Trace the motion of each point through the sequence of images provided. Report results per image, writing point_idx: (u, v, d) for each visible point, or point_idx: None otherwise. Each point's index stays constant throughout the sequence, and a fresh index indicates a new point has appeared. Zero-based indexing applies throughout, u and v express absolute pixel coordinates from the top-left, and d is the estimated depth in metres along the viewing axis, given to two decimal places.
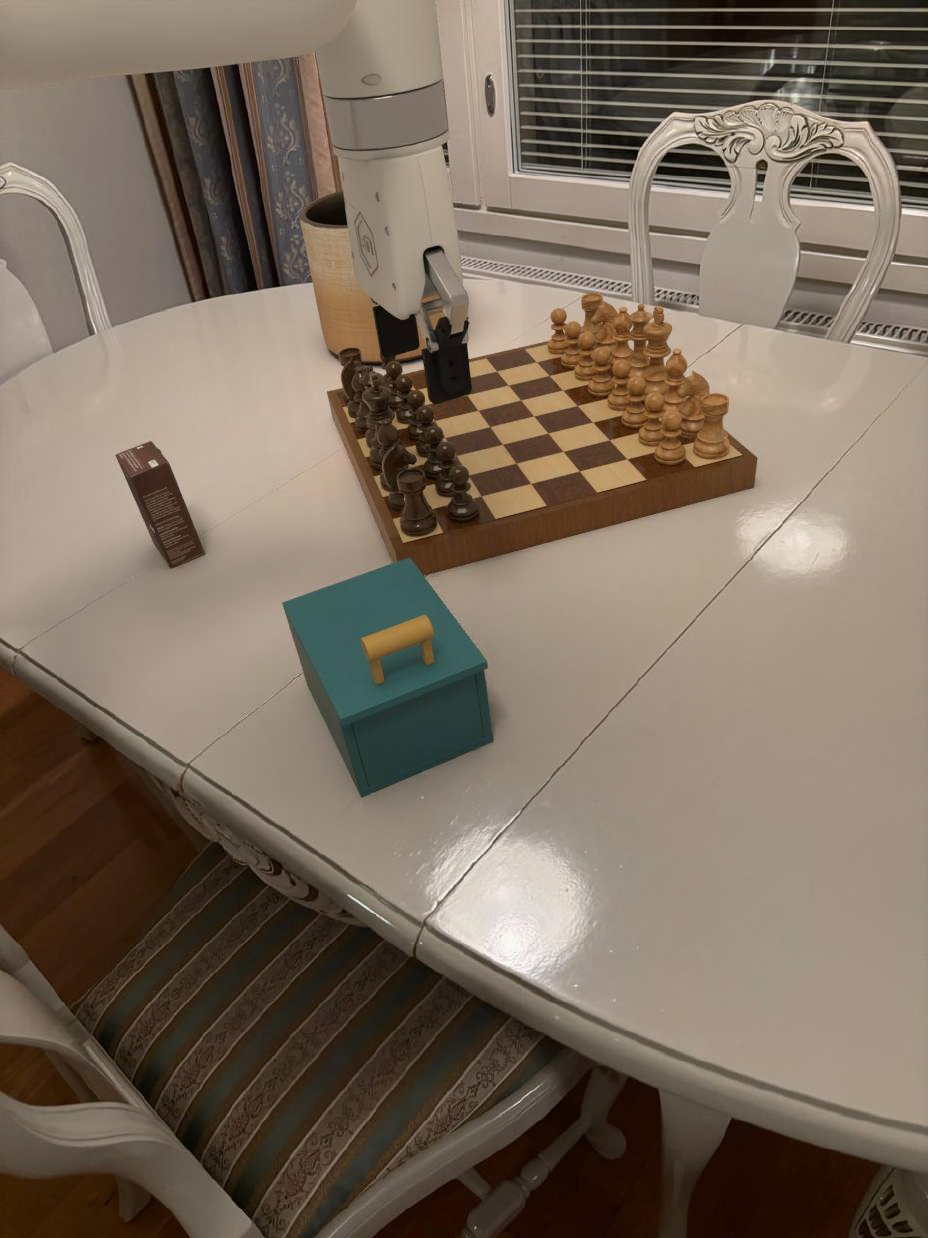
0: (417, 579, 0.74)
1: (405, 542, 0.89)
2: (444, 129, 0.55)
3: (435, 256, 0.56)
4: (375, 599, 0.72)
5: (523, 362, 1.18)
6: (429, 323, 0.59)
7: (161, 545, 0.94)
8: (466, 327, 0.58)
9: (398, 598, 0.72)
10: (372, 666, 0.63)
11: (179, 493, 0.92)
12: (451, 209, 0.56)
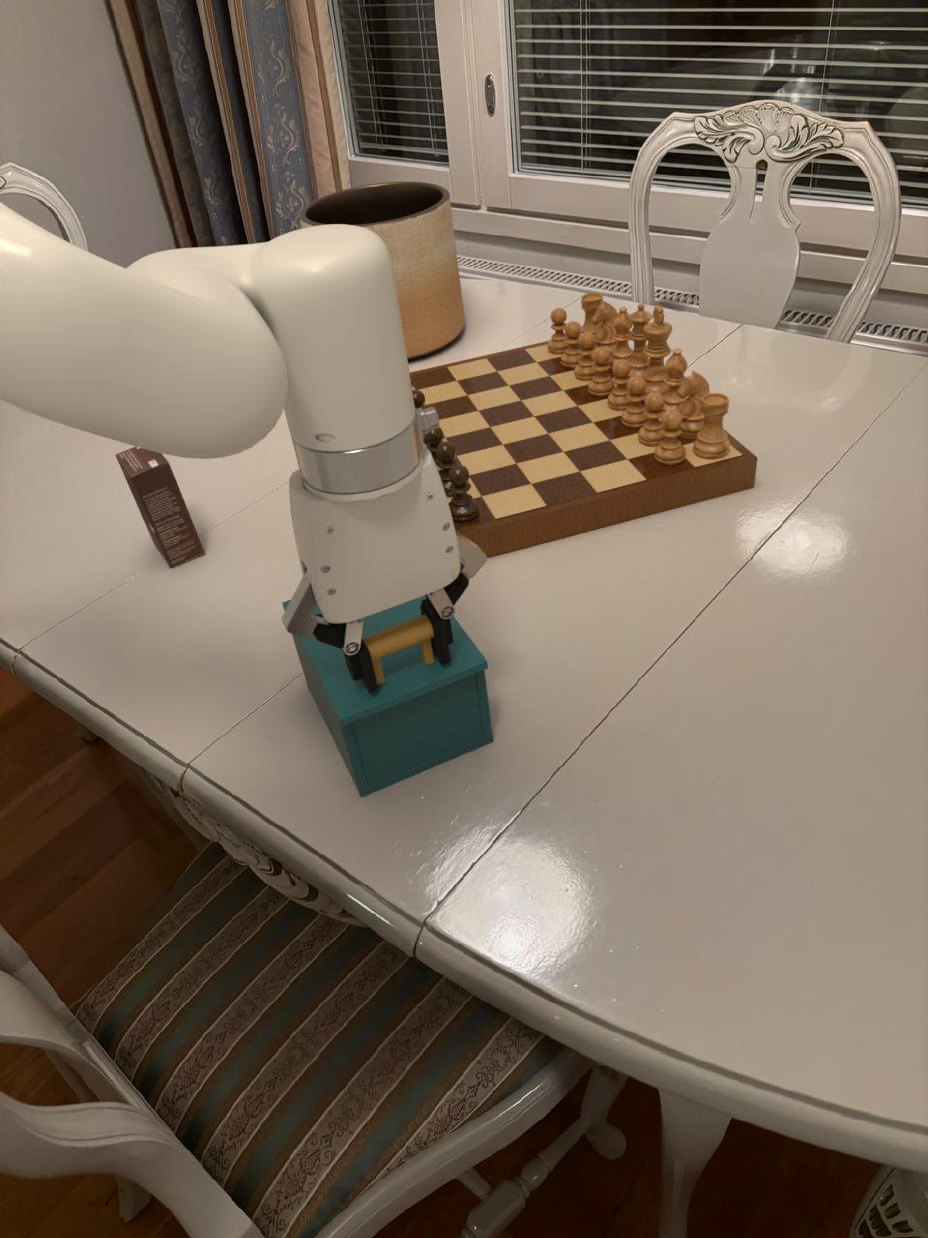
0: None
1: None
2: (333, 491, 0.51)
3: (306, 578, 0.57)
4: None
5: (523, 362, 1.18)
6: None
7: (161, 545, 0.94)
8: None
9: None
10: None
11: (179, 493, 0.92)
12: (311, 551, 0.54)
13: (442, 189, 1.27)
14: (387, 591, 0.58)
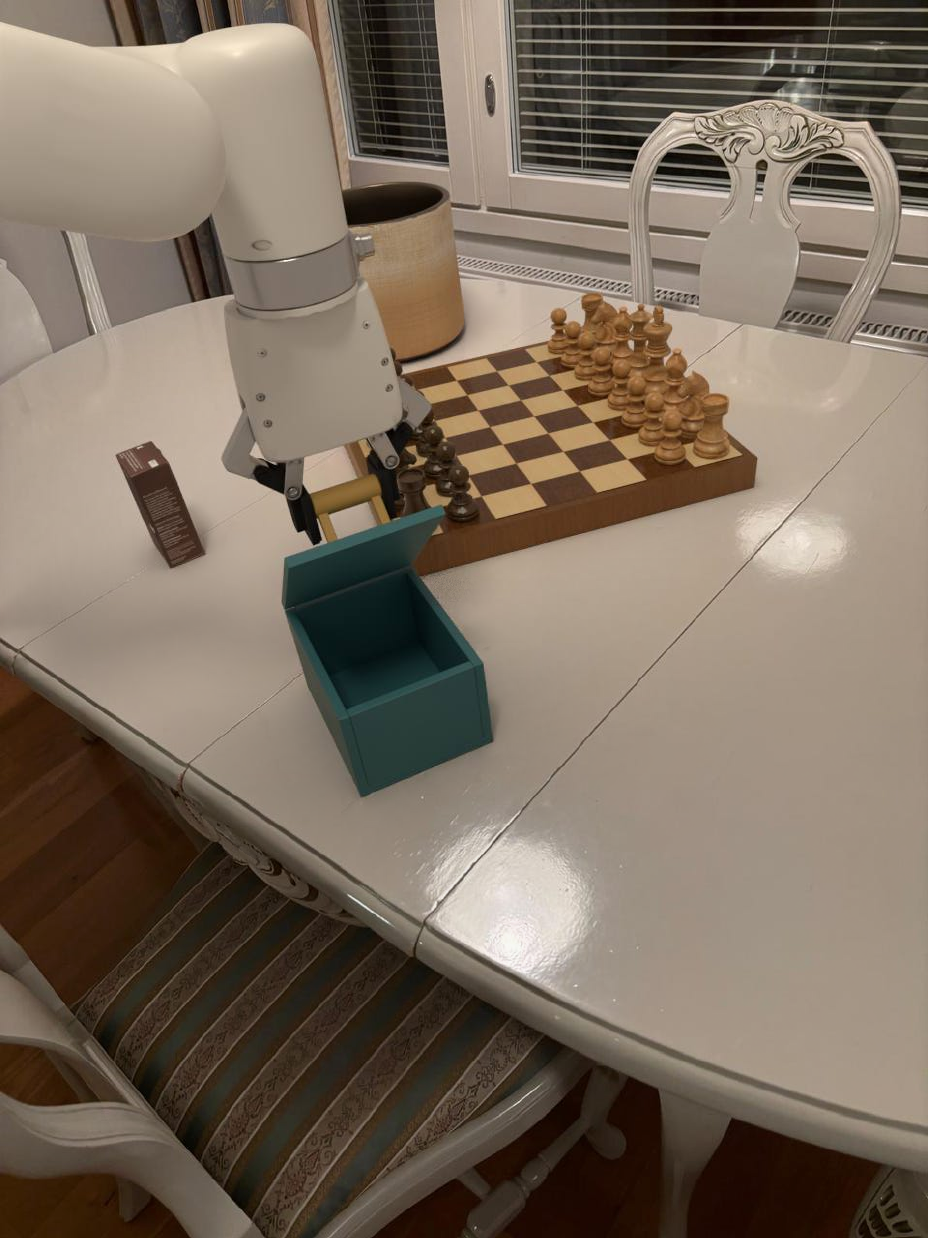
0: None
1: None
2: (264, 307, 0.51)
3: (244, 413, 0.57)
4: None
5: (523, 362, 1.18)
6: (276, 462, 0.61)
7: (161, 545, 0.94)
8: (256, 480, 0.59)
9: None
10: (321, 522, 0.62)
11: (179, 493, 0.92)
12: (245, 377, 0.54)
13: (442, 189, 1.27)
14: (326, 428, 0.57)
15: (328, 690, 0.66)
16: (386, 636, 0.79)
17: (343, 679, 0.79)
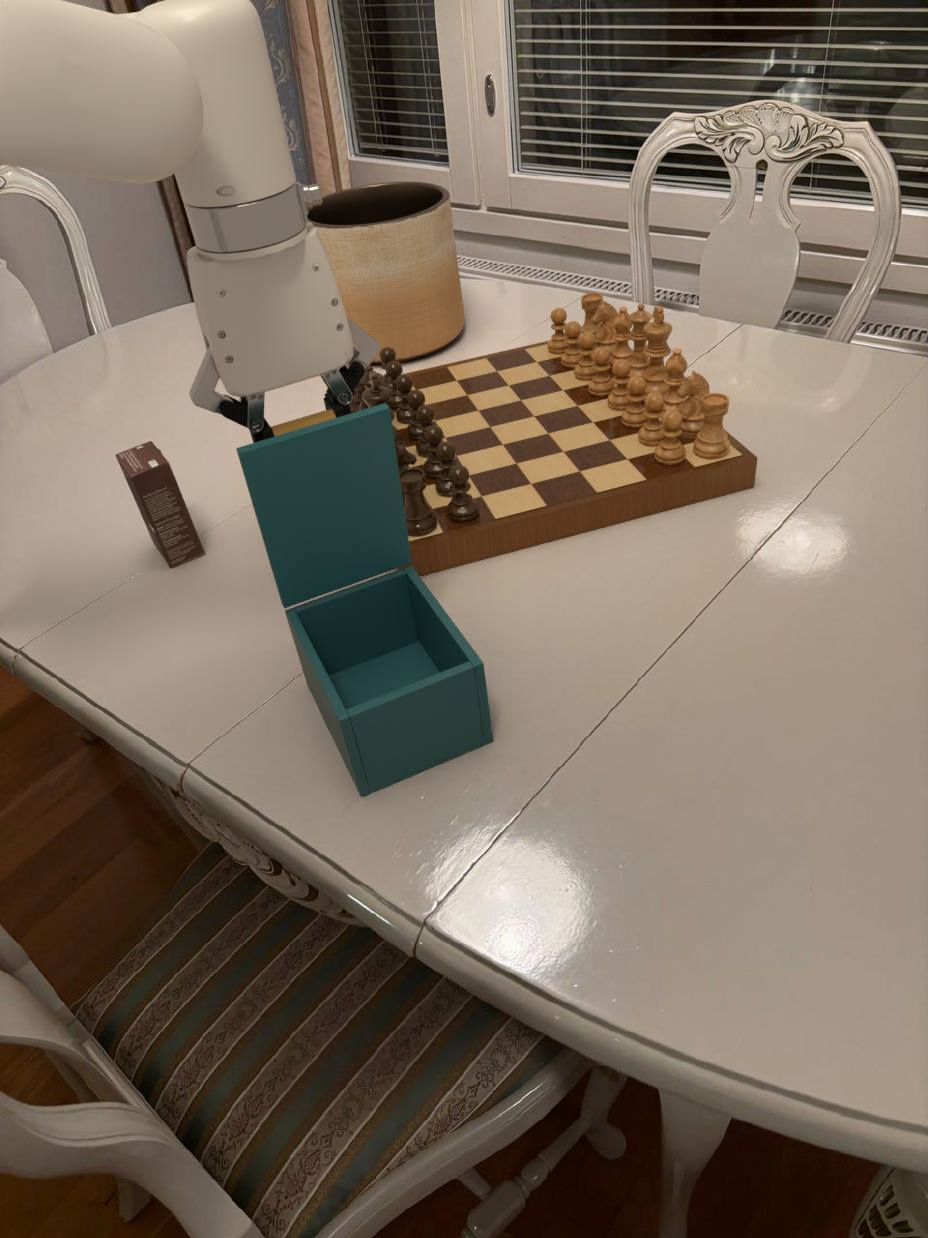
0: None
1: None
2: (221, 250, 0.57)
3: (209, 351, 0.63)
4: None
5: (523, 362, 1.18)
6: (240, 399, 0.67)
7: (161, 545, 0.94)
8: (222, 414, 0.65)
9: None
10: None
11: (179, 493, 0.92)
12: (207, 316, 0.60)
13: (442, 189, 1.27)
14: (283, 364, 0.63)
15: (328, 690, 0.66)
16: (386, 636, 0.79)
17: (343, 679, 0.79)
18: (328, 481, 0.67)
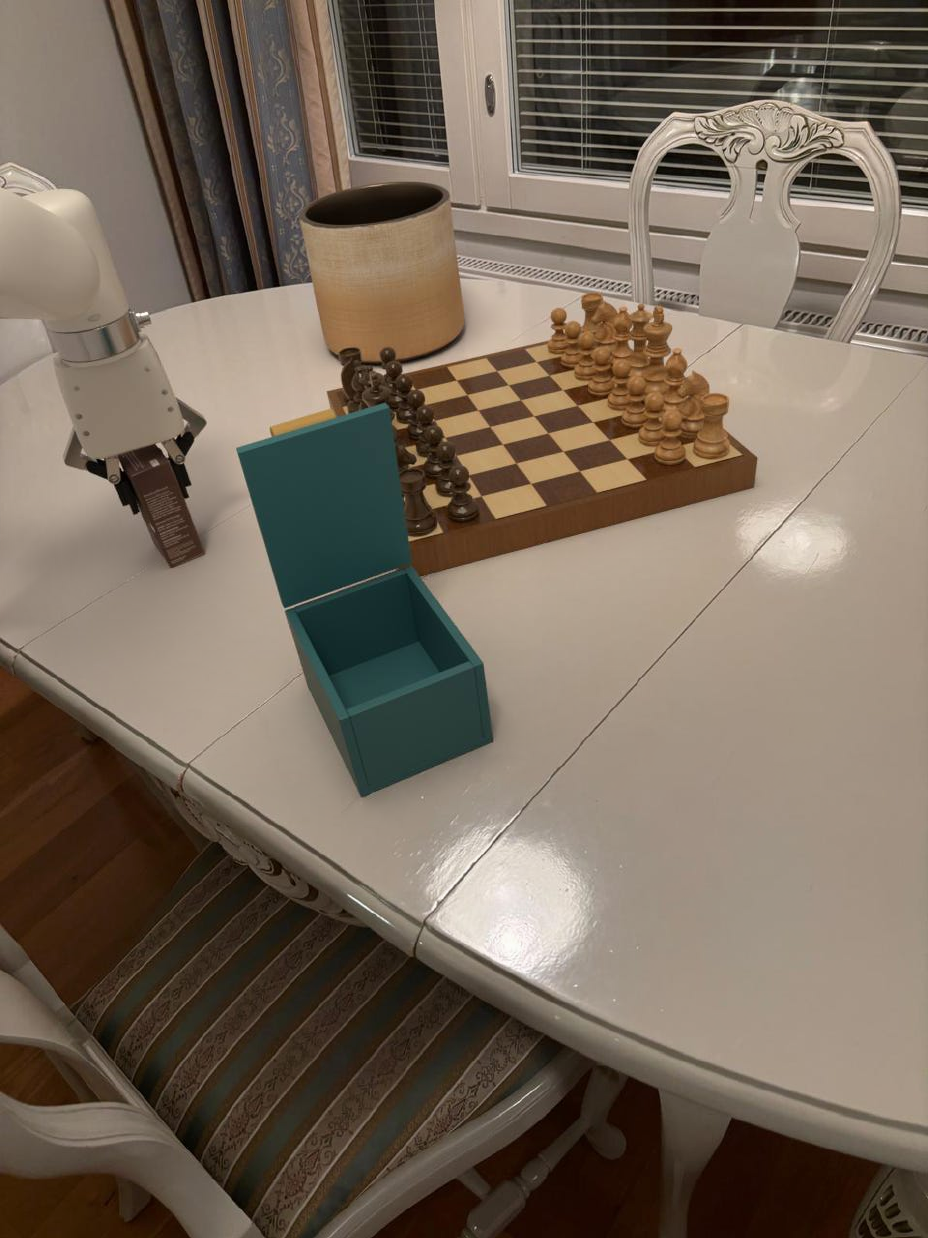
0: None
1: None
2: (73, 360, 0.81)
3: (74, 427, 0.87)
4: None
5: (523, 362, 1.18)
6: None
7: (161, 544, 0.94)
8: (88, 470, 0.89)
9: None
10: None
11: (180, 493, 0.92)
12: (67, 403, 0.83)
13: (442, 189, 1.27)
14: (128, 436, 0.87)
15: (328, 690, 0.66)
16: (386, 636, 0.79)
17: (343, 679, 0.79)
18: (328, 481, 0.67)
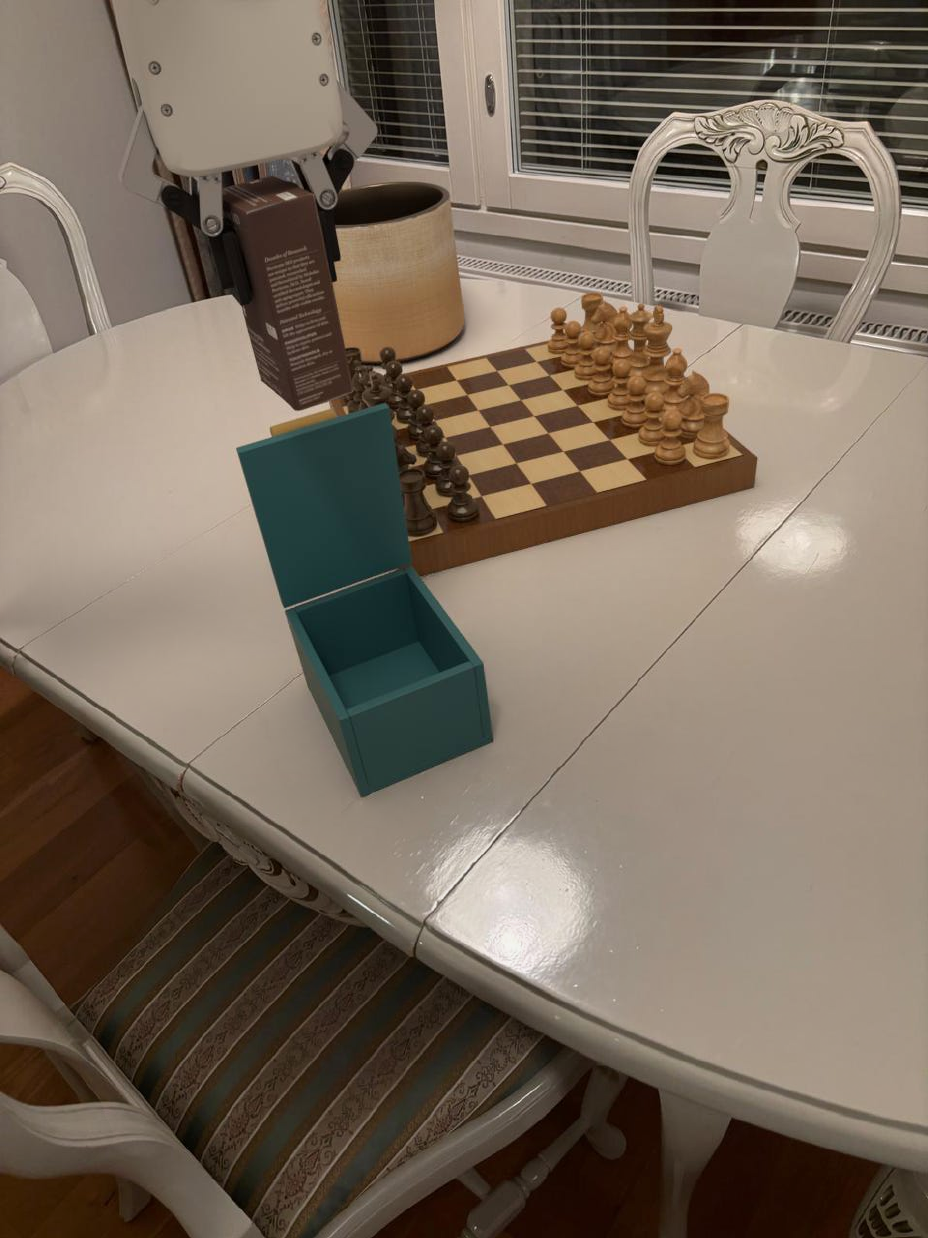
0: None
1: None
2: None
3: (141, 108, 0.45)
4: None
5: (523, 362, 1.18)
6: (190, 193, 0.49)
7: (285, 365, 0.53)
8: (165, 205, 0.47)
9: None
10: None
11: (326, 264, 0.51)
12: (134, 37, 0.42)
13: (442, 189, 1.27)
14: (244, 128, 0.45)
15: (328, 690, 0.66)
16: (386, 636, 0.79)
17: (343, 679, 0.79)
18: (328, 481, 0.67)
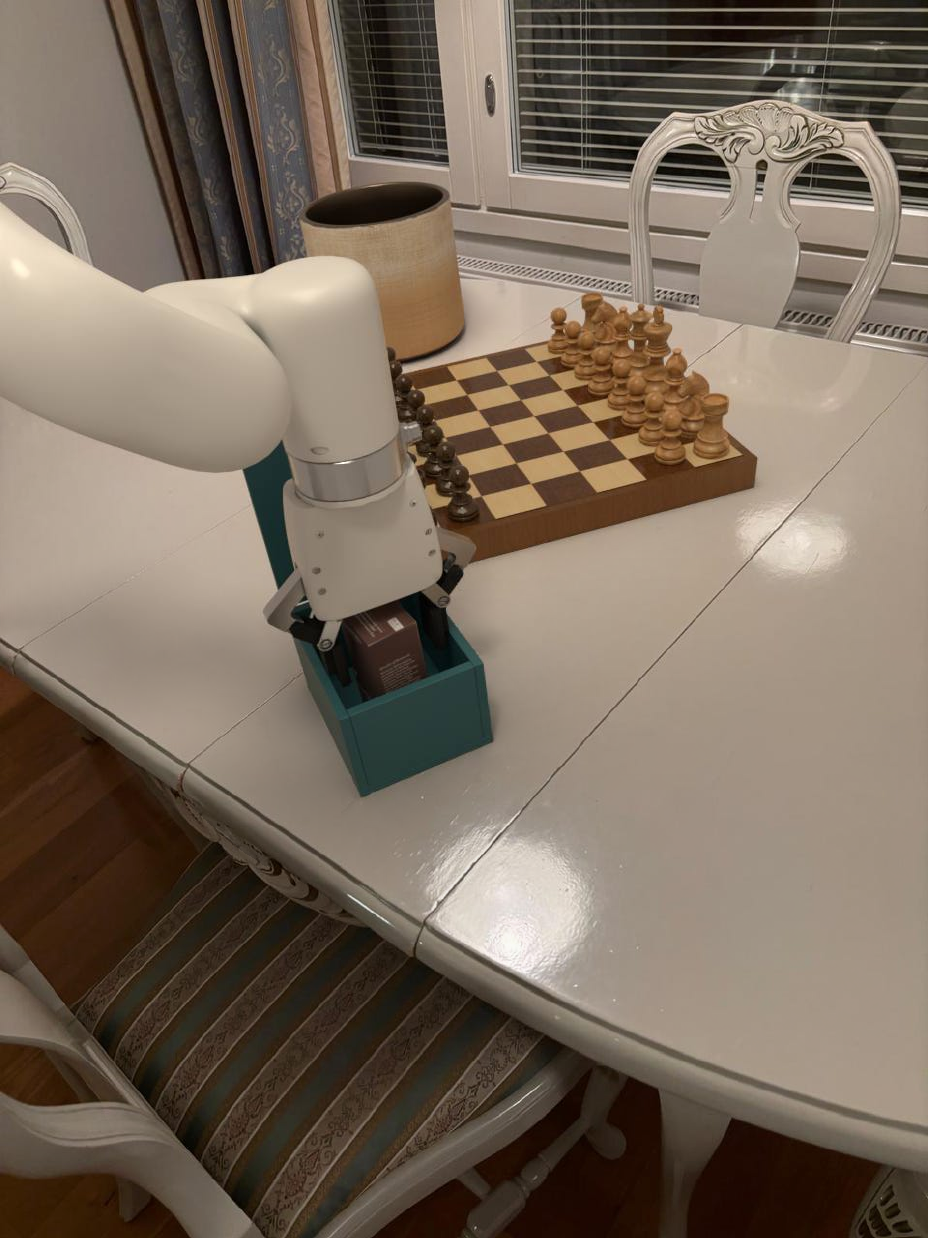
0: None
1: None
2: (323, 499, 0.56)
3: (295, 575, 0.61)
4: None
5: (523, 362, 1.18)
6: (313, 613, 0.65)
7: None
8: (292, 635, 0.63)
9: None
10: None
11: (422, 659, 0.67)
12: (303, 554, 0.59)
13: (442, 189, 1.27)
14: (374, 591, 0.62)
15: (328, 690, 0.66)
16: None
17: None
18: None
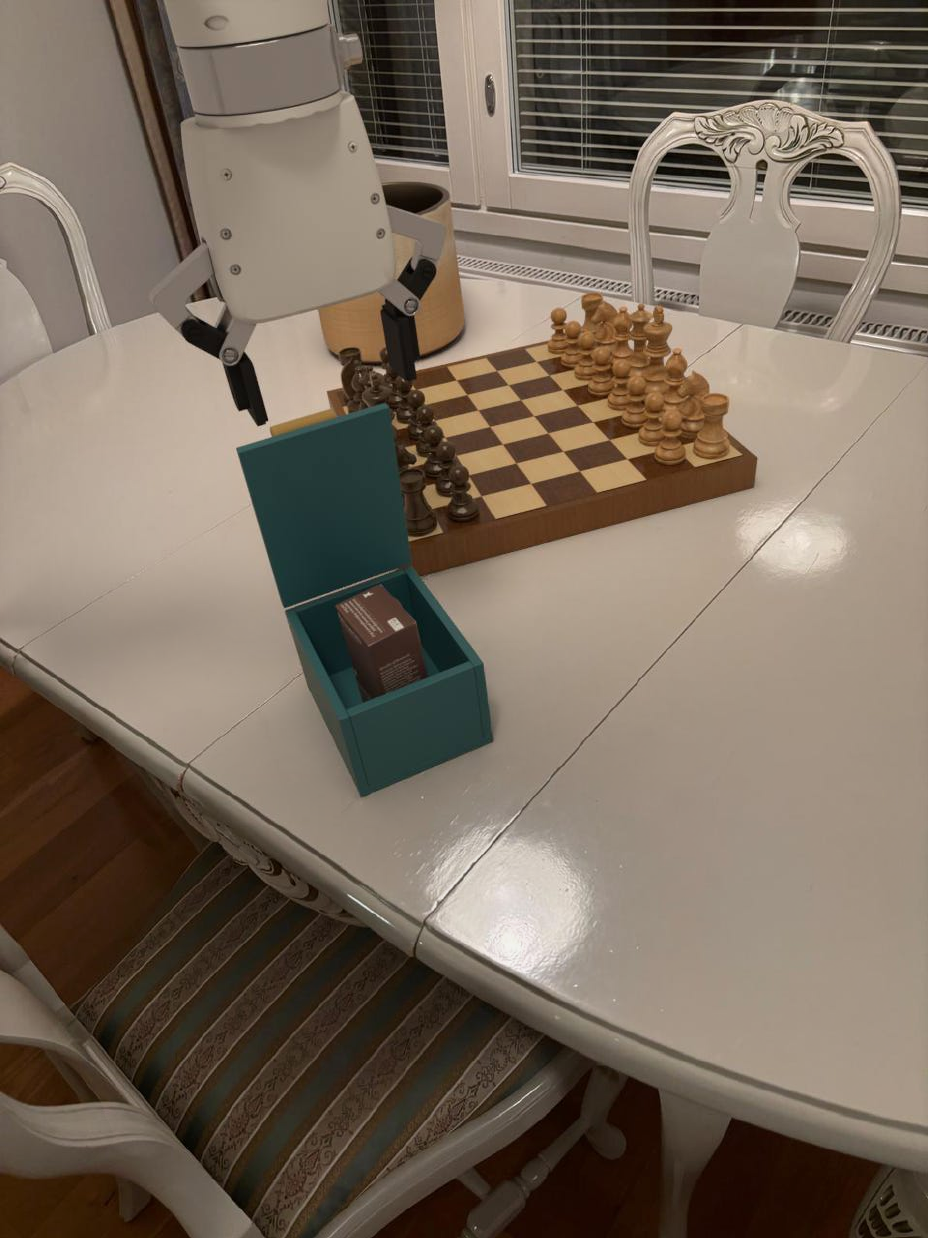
0: None
1: None
2: (227, 111, 0.42)
3: (199, 249, 0.47)
4: None
5: (523, 362, 1.18)
6: (219, 319, 0.51)
7: None
8: (185, 339, 0.49)
9: None
10: None
11: (422, 659, 0.67)
12: (207, 207, 0.45)
13: (442, 189, 1.27)
14: (305, 280, 0.48)
15: (328, 690, 0.66)
16: None
17: (343, 679, 0.79)
18: (328, 481, 0.67)
